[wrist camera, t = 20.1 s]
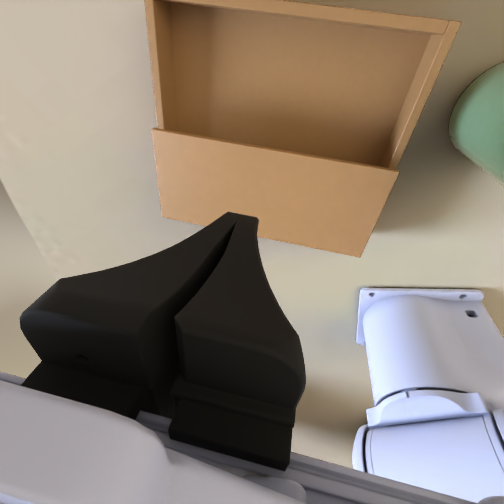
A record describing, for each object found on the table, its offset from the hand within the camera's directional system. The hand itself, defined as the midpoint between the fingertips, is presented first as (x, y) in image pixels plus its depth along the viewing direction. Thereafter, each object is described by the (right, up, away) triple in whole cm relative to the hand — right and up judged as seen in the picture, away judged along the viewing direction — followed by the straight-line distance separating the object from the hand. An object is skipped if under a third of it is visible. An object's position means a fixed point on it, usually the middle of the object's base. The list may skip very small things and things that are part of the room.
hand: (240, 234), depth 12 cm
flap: (+1, +3, +7) cm, 8 cm away
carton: (+2, +7, +7) cm, 11 cm away
